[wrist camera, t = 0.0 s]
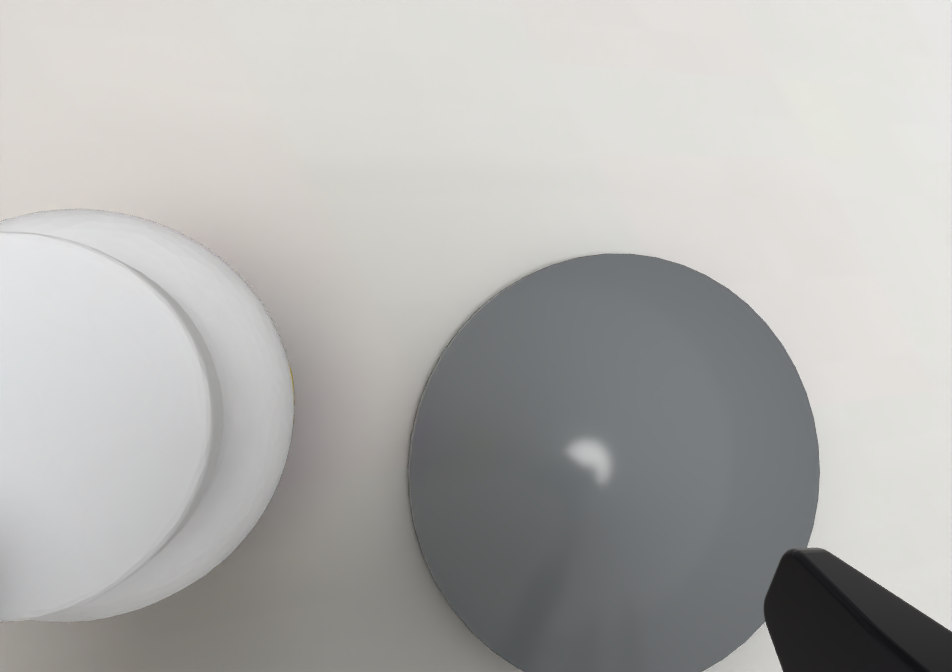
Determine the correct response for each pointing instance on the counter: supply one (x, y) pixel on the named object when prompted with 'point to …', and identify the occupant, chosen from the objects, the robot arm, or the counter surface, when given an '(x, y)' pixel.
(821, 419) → the counter surface
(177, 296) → the supplement bottle
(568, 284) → the slate trivet
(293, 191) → the counter surface
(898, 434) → the counter surface
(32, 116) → the counter surface
